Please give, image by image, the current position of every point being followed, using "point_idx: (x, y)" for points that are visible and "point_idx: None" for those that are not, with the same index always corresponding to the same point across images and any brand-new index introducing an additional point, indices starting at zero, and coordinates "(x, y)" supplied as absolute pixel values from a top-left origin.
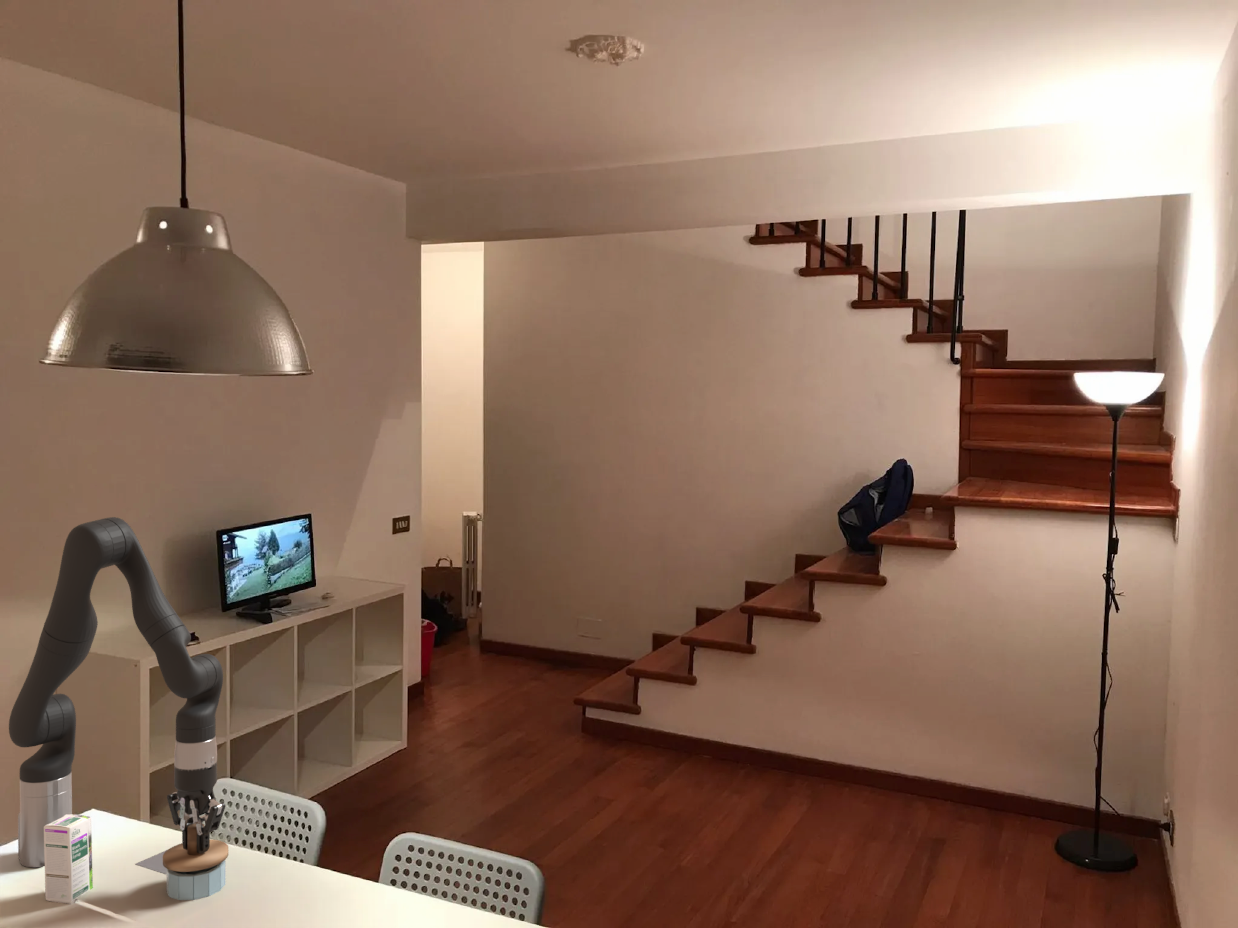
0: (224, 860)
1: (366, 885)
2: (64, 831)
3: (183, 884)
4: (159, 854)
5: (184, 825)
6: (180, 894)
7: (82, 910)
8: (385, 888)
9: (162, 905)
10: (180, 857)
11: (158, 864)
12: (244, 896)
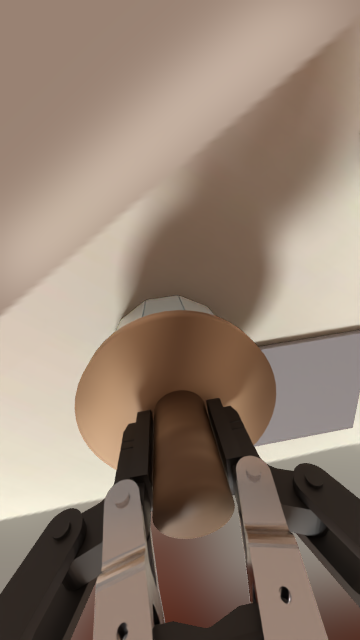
0: None
1: None
2: None
3: (133, 320)
4: (357, 379)
5: (239, 488)
6: (142, 307)
7: (303, 126)
8: None
9: (163, 270)
10: (182, 364)
11: (325, 358)
12: (67, 393)
